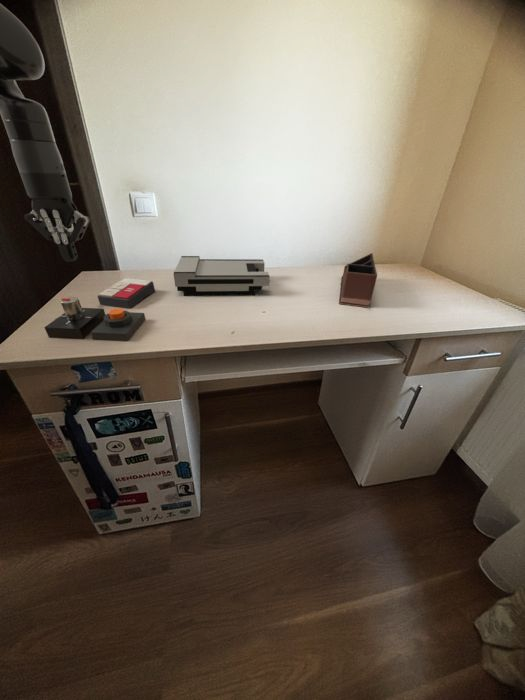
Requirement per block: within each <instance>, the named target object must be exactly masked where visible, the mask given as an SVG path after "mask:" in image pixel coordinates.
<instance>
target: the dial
mask: <svg viewBox="0 0 525 700" xmlns="http://www.w3.org/2000/svg"><path fill="white" fill-rule="evenodd" d="M60 304H61V308H62V309H63V312H64V313H65V315H66V317H67V319H68V320H72V321H73V320H79V319H81V318H83V317H84V313H83V310H82V308H83V307H82V305H81V302H80V300H79V297H78V296H67V297H61V300H60Z"/></svg>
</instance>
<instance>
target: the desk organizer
mask: <svg viewBox="0 0 525 700" xmlns="http://www.w3.org/2000/svg"><path fill="white" fill-rule="evenodd" d="M377 278H378V272H377V267H376V264H375V259H374V254H373V253H372V252H370V253H369V254H366V255H365V256H363V257H361V258H359V259H357V260H355V261H353V262H350V263H346V264H345V265H344V267H343V273H342V276H341V279H340V288H339V289H340V290H339V299H338V304H339V305H346V306H352V307H360V308H367V309H371V302H372V298H373V293H374V290H375V286H376V282H377Z"/></svg>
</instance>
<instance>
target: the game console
mask: <svg viewBox="0 0 525 700" xmlns="http://www.w3.org/2000/svg"><path fill="white" fill-rule="evenodd" d="M179 258H180V259H179V260H178V263H177V265H176V267H175V268H174V271H173V280H174V287H176V290H177V292H183V297H203V296H204V297H205V296H209V297H210V296H256V291H262V290H263V287H270V280H271V276H270V274H269V271H265V265H266V264H265V261H264V259H257V258H255V259H253V258H251V259H249V258H248V259H239V258H237V259H236V258H235V259H231V258H230V259H228V258H227V259H226V258H225V259H224V258H223V259H222V258H220V259H219V258H215V259H213V258H212V259H210V258H209V259H208V258H203V259H202V258H201V257H200V256H199V255H181V256H180V257H179Z"/></svg>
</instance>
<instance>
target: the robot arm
mask: <svg viewBox="0 0 525 700" xmlns="http://www.w3.org/2000/svg"><path fill="white" fill-rule="evenodd" d="M44 58H45V57H44V55H43V52H42V50H41V47H40V45H39V44H38V42H37V40H36V38H35V37H34V35H33V34H32V32H30V30H29V29H28V28H27V27H26V25H25V24H24V23H23V22H22V21H21V20H20V19H19V18H18V17H17V16H16V15H15V14H13V13H12V12H11V11H10V10H9V9H8V8H7V7H6V6H5V5H3V4H2V3H0V117H1V120H2V122H3V125H4V128H5V130H6V134H7V136H8V139H9V143H10V146H11V152H12V155H13V158H14V161H15V164H16V167H17V169H18V173H19V175H20V177H21V181H22V183H23V186H24V189H25V192H26V195H27V196H28V197H29V198H30V199H31V209H32V210H31V211H30V212H29V213H27V214H24V220H25V221H27V222H28V223H29V224H30V226H32V227H33V228H34V229H35V230H36V231H37V232H38V233H40V235H42V236H43V237H44V239H45V240H47V241H49V242H50V241H52V242H54V243H55V244H57V247H58V250H59V253H60V256H61V258H62V259H64V261H65V262H72V263H73V262H75V261H77V259H78V257H79V255H78V251H77V248H76V245H75V243H76V242H77V241H81V240H82V239H83V237H84V235H85V233H86V230H87V228H88V226H89V225H90V222H91V218H90V217H89V216H88V215H84V214H83V213H81V212H79V211H78V209H77V206H76V205H75V203H74V201H73V194H72V190H71V187H70V186H71V185H70V183H69V180H68V176H67V172H66V168H65V165H64V161H63V158H62V155H61V153H60V150H59V148H58V146H57V143H56V139H55V136H54V131H53V129H52V125H51V122H50V117H49V115H48V112H47V111H46V108H45V107H44V106H43V105H42V104H41V103H40V102H38V101H35V100H34V99H30V98H26V97H25V96H24V94H23V93H22V91H21V89H20V88H19V86H18V83H17V81H35V80H38V79H40V78H41V77H42V76H44V73H45V68H46V64H45V59H44ZM74 223H75V225H74Z"/></svg>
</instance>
